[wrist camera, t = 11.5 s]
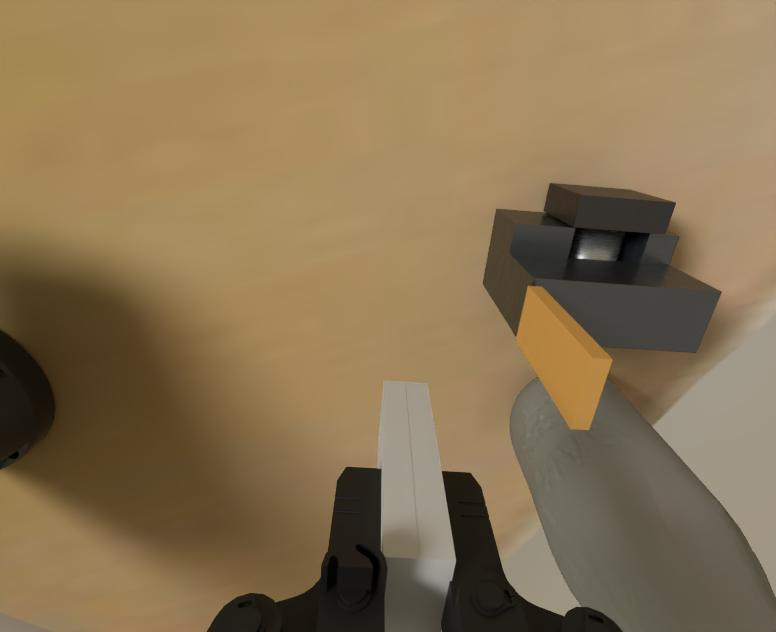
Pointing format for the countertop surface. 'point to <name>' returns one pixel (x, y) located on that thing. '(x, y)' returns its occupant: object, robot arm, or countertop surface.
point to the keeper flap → (563, 357)
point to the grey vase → (636, 522)
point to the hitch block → (599, 284)
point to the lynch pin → (605, 217)
